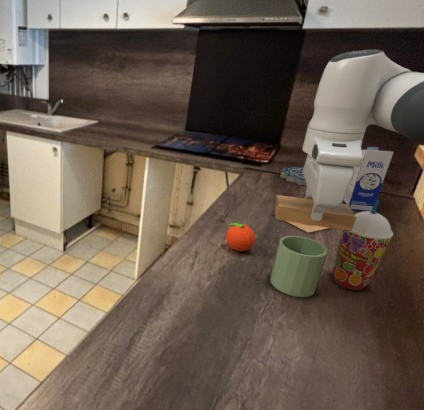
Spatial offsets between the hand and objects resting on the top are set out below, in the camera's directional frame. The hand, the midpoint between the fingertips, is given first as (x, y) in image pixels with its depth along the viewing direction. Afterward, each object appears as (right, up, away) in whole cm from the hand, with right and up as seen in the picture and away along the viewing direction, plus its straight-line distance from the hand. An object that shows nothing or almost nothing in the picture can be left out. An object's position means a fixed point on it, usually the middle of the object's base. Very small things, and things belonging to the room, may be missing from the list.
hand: (312, 211), depth 72 cm
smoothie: (+13, -16, +8) cm, 22 cm away
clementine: (-6, -10, +22) cm, 25 cm away
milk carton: (+45, +1, +47) cm, 64 cm away
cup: (0, -16, +7) cm, 18 cm away
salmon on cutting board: (+21, -4, +37) cm, 43 cm away
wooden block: (0, -1, +1) cm, 2 cm away
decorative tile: (+44, +12, +72) cm, 85 cm away
